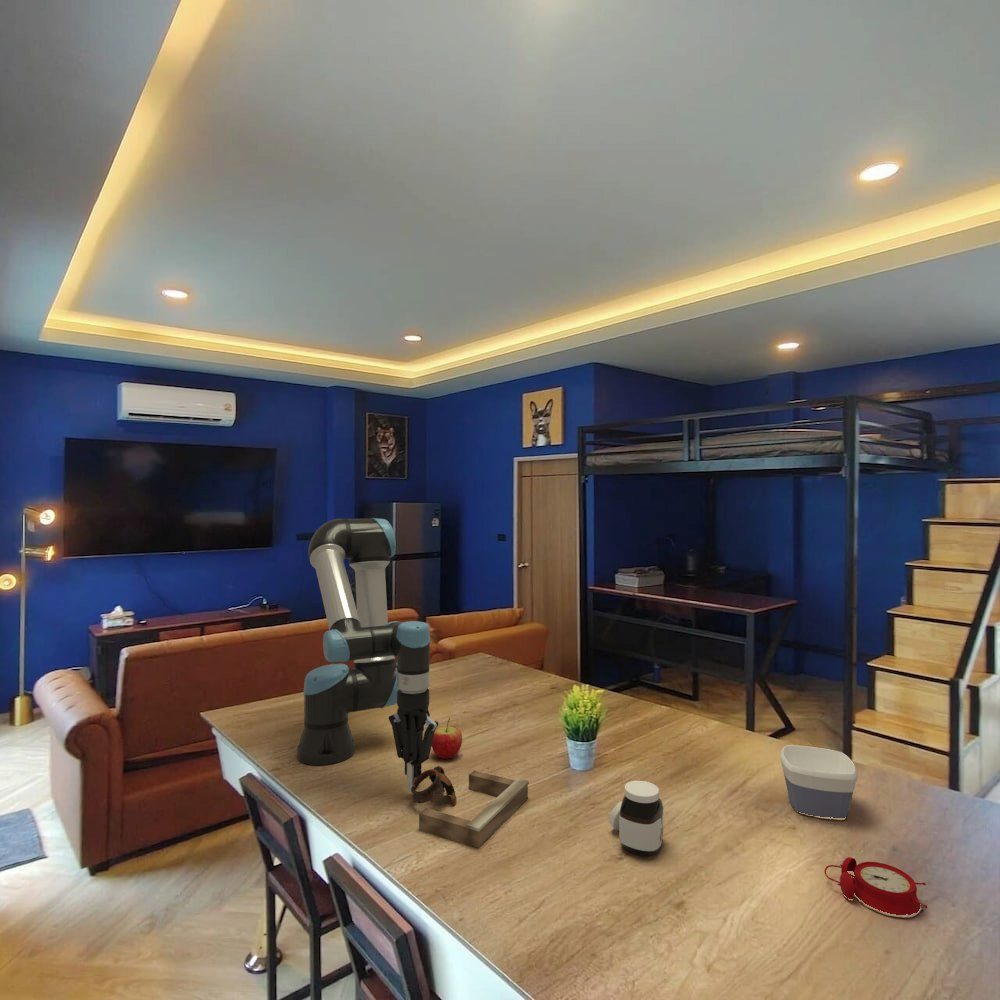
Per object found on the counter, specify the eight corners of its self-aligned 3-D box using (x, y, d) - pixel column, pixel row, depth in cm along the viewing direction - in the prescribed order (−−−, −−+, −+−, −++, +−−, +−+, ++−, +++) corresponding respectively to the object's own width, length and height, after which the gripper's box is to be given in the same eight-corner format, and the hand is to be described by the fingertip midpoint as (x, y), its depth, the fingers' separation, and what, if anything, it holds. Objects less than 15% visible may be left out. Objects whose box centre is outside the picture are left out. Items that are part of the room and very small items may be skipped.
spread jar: (652, 864, 117) (652, 803, 117) (597, 846, 123) (597, 788, 123) (670, 835, 127) (670, 779, 127) (618, 820, 133) (619, 766, 133)
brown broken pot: (458, 814, 136) (441, 786, 134) (421, 830, 137) (403, 803, 135) (461, 776, 148) (445, 750, 146) (427, 791, 149) (410, 766, 147)
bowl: (848, 797, 144) (848, 750, 144) (863, 831, 129) (864, 778, 129) (777, 787, 149) (777, 741, 149) (784, 818, 134) (784, 767, 134)
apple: (467, 753, 168) (467, 717, 168) (452, 765, 160) (452, 727, 160) (441, 748, 171) (441, 712, 171) (425, 760, 163) (425, 722, 163)
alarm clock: (931, 909, 99) (829, 859, 107) (920, 943, 100) (820, 891, 108) (927, 875, 108) (833, 832, 116) (917, 907, 109) (825, 862, 117)
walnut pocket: (418, 830, 129) (418, 810, 129) (474, 784, 150) (474, 767, 150) (478, 848, 122) (478, 828, 122) (528, 798, 143) (528, 780, 143)
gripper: (381, 689, 143) (380, 789, 143) (426, 697, 137) (426, 803, 137) (400, 680, 150) (400, 777, 150) (445, 688, 144) (445, 789, 144)
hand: (412, 789), depth 144 cm, fingers closed
